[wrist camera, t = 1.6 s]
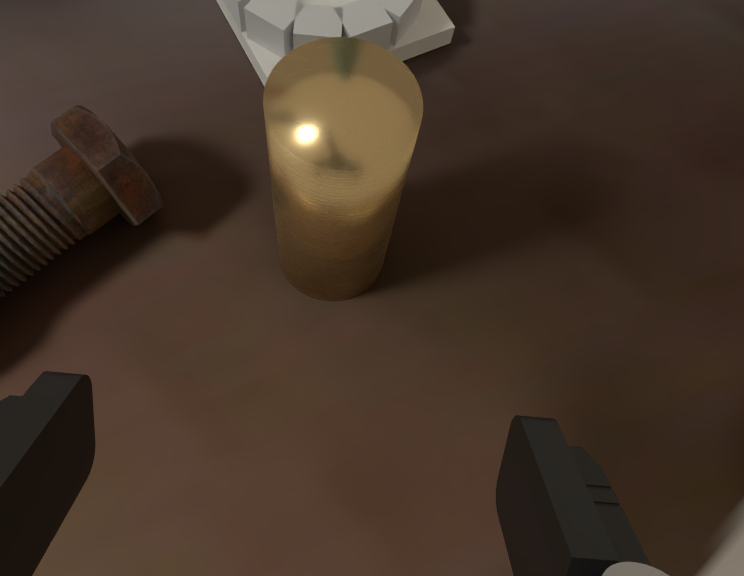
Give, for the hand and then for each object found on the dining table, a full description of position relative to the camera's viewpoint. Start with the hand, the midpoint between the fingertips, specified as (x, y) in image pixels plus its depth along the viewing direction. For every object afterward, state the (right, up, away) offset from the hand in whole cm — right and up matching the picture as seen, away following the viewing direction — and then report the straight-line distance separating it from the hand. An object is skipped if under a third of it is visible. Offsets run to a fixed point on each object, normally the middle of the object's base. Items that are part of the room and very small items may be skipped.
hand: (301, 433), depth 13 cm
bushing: (0, +4, +17) cm, 18 cm away
